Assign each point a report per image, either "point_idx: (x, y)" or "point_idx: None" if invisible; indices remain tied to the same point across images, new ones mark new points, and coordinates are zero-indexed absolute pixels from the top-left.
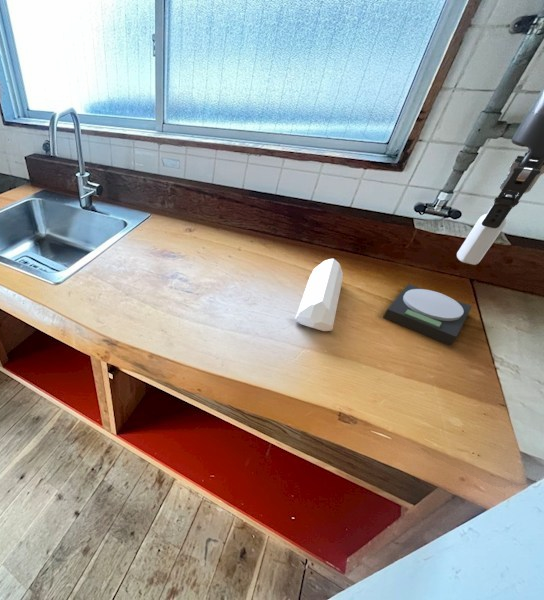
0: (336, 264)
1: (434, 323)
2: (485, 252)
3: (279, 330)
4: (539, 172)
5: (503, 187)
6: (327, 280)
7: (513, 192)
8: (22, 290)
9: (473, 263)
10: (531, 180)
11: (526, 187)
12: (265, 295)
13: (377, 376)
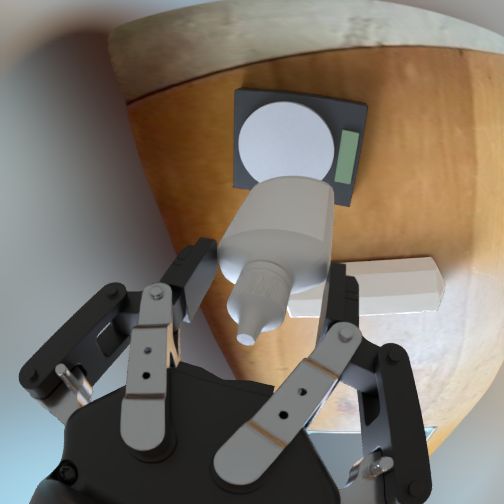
0: (299, 306)
1: (354, 140)
2: (322, 197)
3: (448, 300)
4: (421, 490)
5: (318, 412)
6: (374, 314)
7: (177, 313)
8: (449, 431)
9: (333, 191)
10: (426, 458)
11: (423, 428)
12: (381, 329)
13: (488, 194)
